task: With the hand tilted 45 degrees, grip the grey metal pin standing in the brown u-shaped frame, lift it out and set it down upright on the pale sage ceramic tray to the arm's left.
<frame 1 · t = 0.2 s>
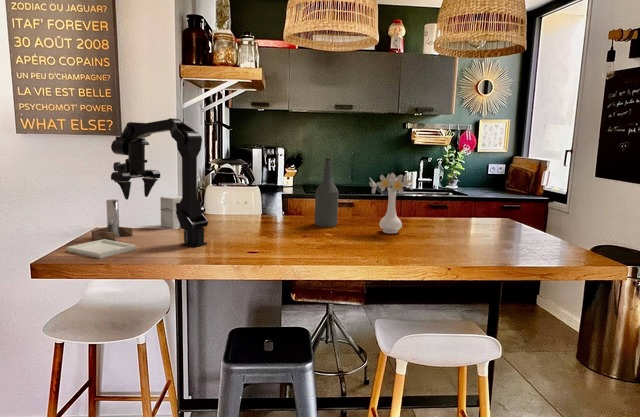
hand: (136, 198, 177), 14 cm above the breakfast bar, tool pointing down, fingers open, 9 cm apart
bottle: (325, 225, 210), on the breakfast bar
flower vase: (389, 232, 198), on the breakfast bar
brown u-shaped frame: (113, 237, 175), on the breakfast bar
supplement box: (173, 226, 198), on the breakfast bar
tray: (102, 250, 156), on the breakfast bar
pin: (113, 219, 174), in the brown u-shaped frame
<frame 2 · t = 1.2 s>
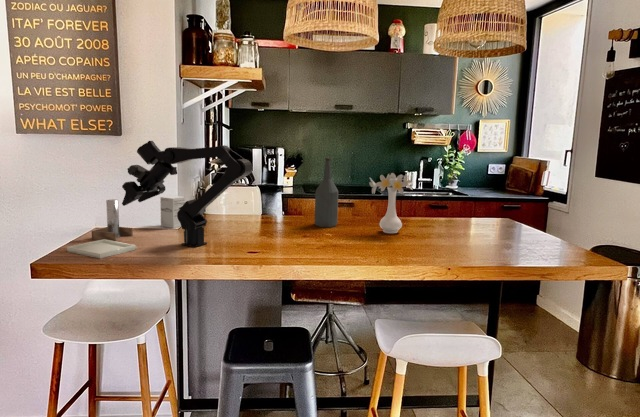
hand: (131, 203, 171), 13 cm above the breakfast bar, tool tilted 45°, fingers open, 9 cm apart
nothing on the breakfast bar moved.
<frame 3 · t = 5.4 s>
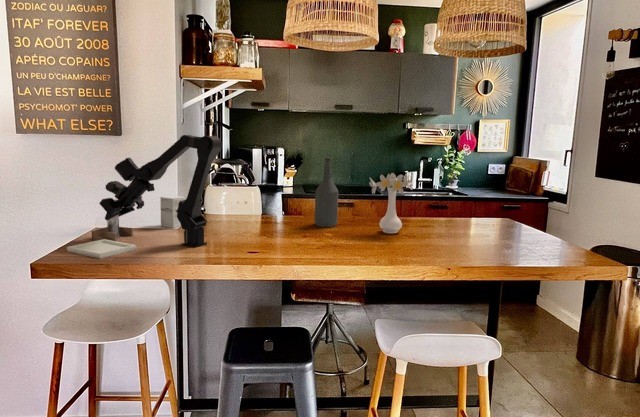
hand: (109, 218, 174), 7 cm above the breakfast bar, tool tilted 45°, fingers closed on pin, 4 cm apart
pin: (113, 219, 174), in the brown u-shaped frame, touching gripper
everything else where it was.
when the fingers open (8 cm above the breakfast bar, at t = 9.6 s): pin stays where it is, resting on tray.
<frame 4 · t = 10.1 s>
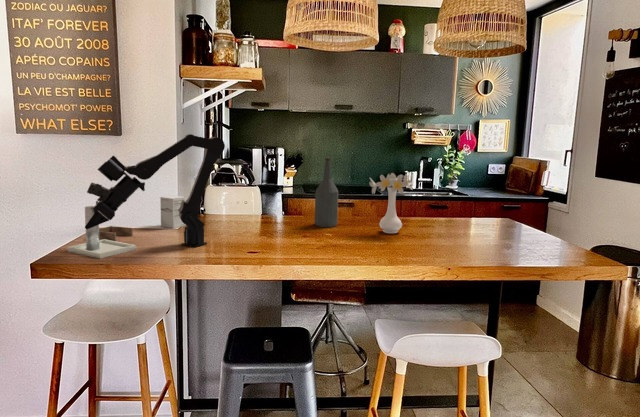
hand: (86, 225, 153), 9 cm above the breakfast bar, tool tilted 45°, fingers open, 9 cm apart
pin: (92, 228, 154), point 8 cm above the breakfast bar, touching tray
everything else where it was.
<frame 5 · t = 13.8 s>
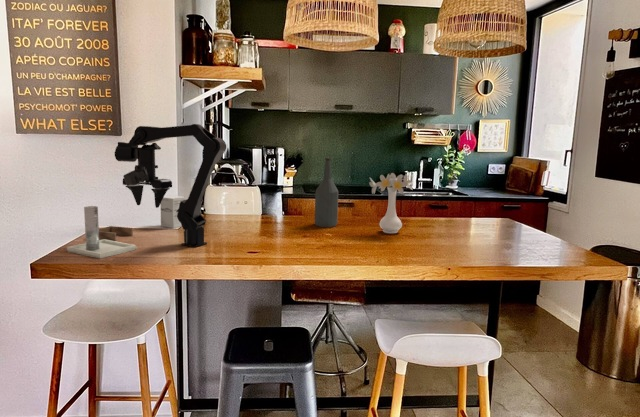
hand: (147, 206, 167), 13 cm above the breakfast bar, tool pointing down, fingers open, 9 cm apart
nothing on the breakfast bar moved.
at the end: pin inside the target area on the tray (2.8 cm from its centre), point 7.6 cm above the tray's base; pin tilted 0°; the gripper is holding nothing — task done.
